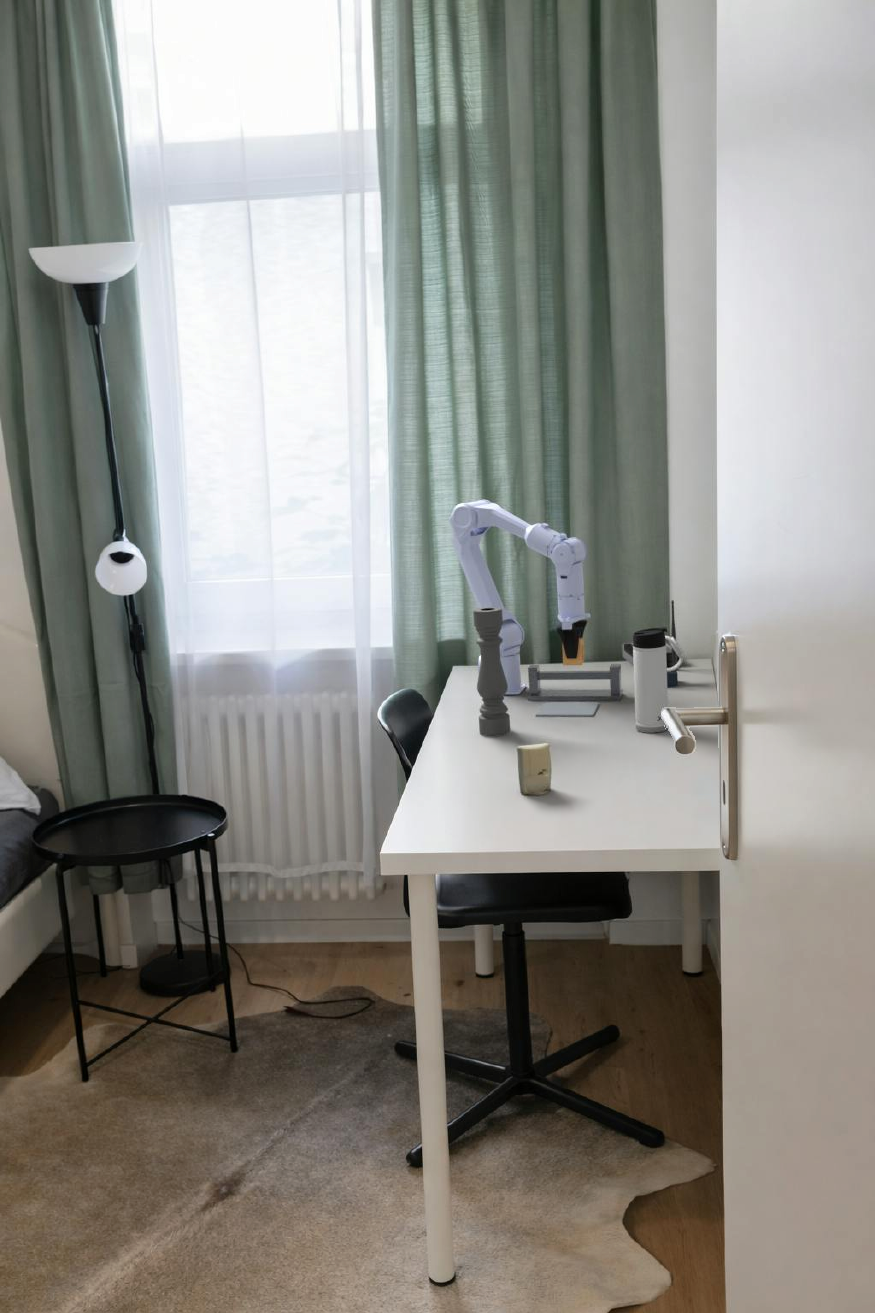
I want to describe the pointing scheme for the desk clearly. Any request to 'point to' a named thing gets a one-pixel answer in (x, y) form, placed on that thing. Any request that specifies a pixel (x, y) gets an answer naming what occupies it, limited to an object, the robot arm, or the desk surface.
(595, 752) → the desk surface
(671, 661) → the wifi router
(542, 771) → the beige tall block
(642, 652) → the travel mug
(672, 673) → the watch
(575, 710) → the mat
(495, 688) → the candle holder
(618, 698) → the rail stand
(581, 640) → the clip
